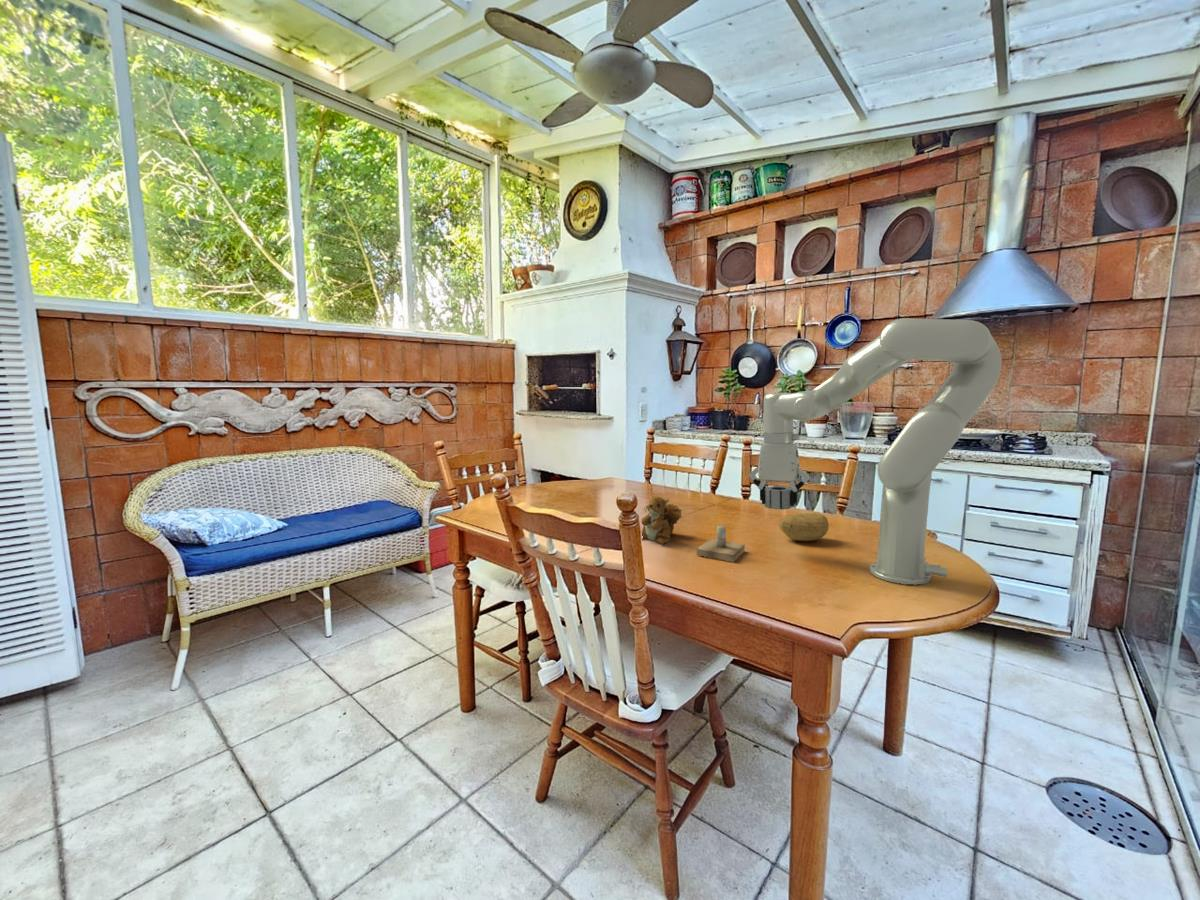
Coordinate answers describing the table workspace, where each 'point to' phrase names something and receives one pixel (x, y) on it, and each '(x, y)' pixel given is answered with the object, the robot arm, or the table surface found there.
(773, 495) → the hub
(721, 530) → the shaft stand
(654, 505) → the stuffed squirrel
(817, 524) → the potato
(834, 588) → the table surface
